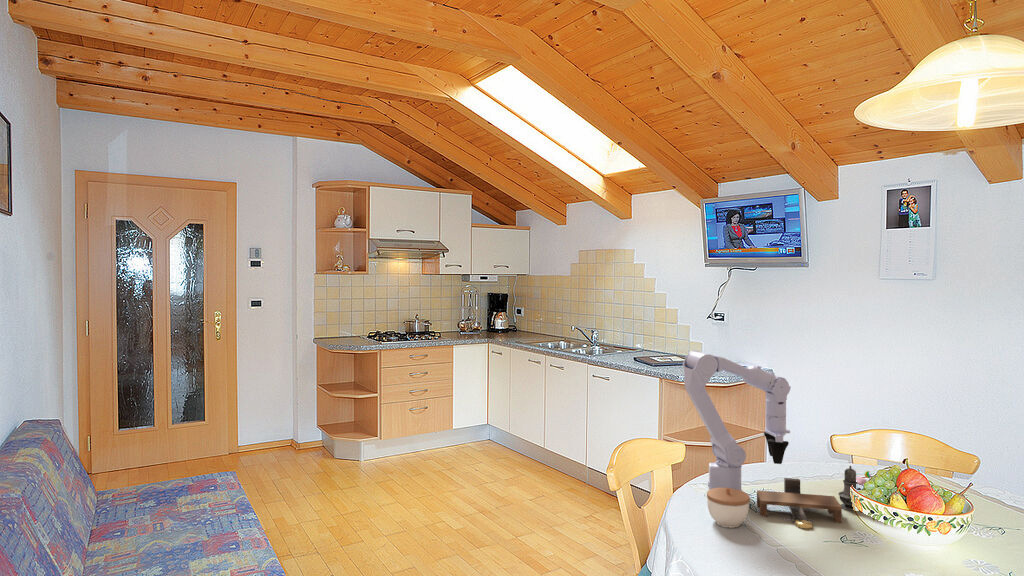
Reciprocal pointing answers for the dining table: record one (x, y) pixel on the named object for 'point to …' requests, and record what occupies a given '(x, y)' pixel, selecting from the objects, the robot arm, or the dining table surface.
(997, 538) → the dining table surface
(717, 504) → the lidded jar
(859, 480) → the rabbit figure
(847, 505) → the salt shaker
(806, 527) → the brass token
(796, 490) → the scraper tool
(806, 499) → the low shelf
